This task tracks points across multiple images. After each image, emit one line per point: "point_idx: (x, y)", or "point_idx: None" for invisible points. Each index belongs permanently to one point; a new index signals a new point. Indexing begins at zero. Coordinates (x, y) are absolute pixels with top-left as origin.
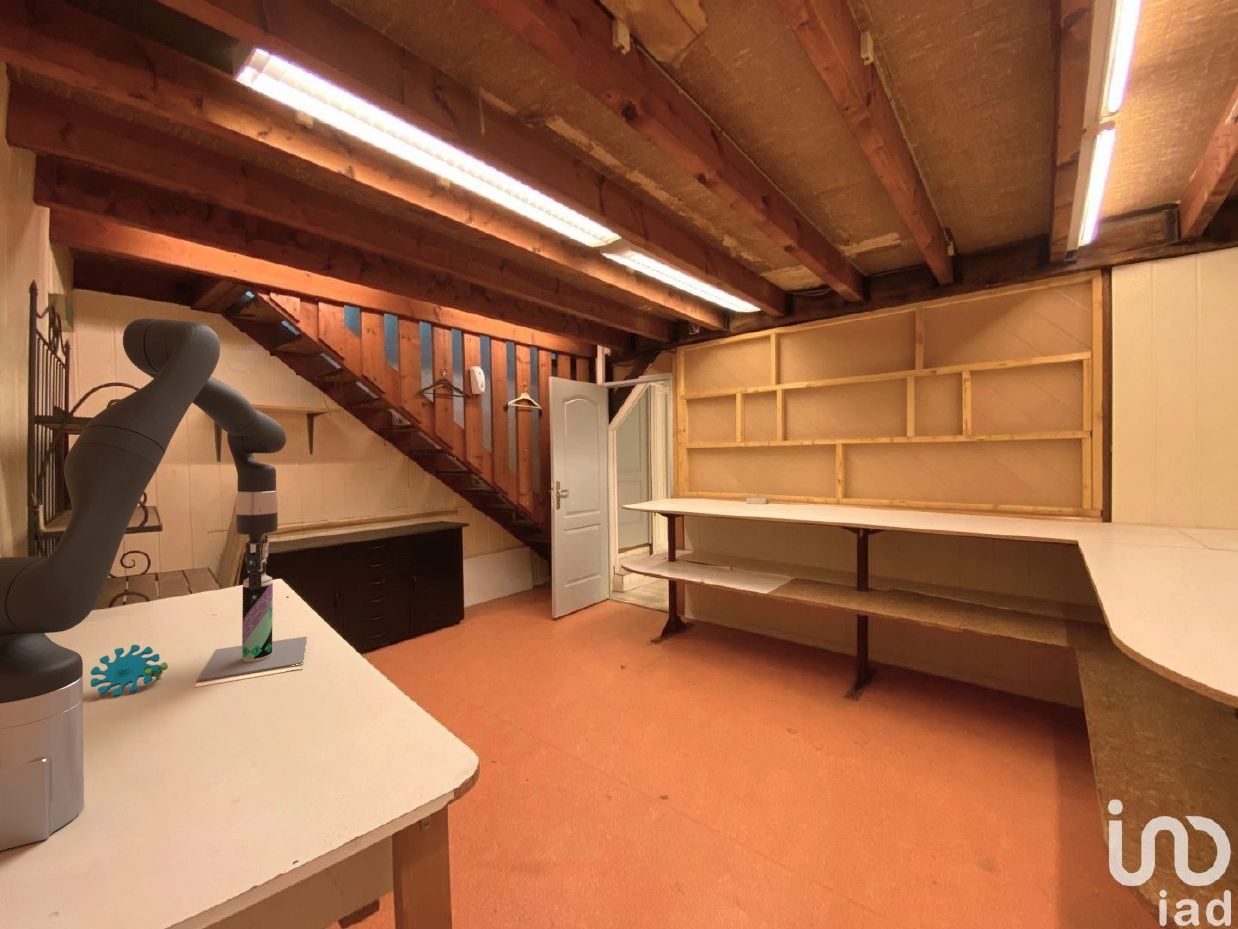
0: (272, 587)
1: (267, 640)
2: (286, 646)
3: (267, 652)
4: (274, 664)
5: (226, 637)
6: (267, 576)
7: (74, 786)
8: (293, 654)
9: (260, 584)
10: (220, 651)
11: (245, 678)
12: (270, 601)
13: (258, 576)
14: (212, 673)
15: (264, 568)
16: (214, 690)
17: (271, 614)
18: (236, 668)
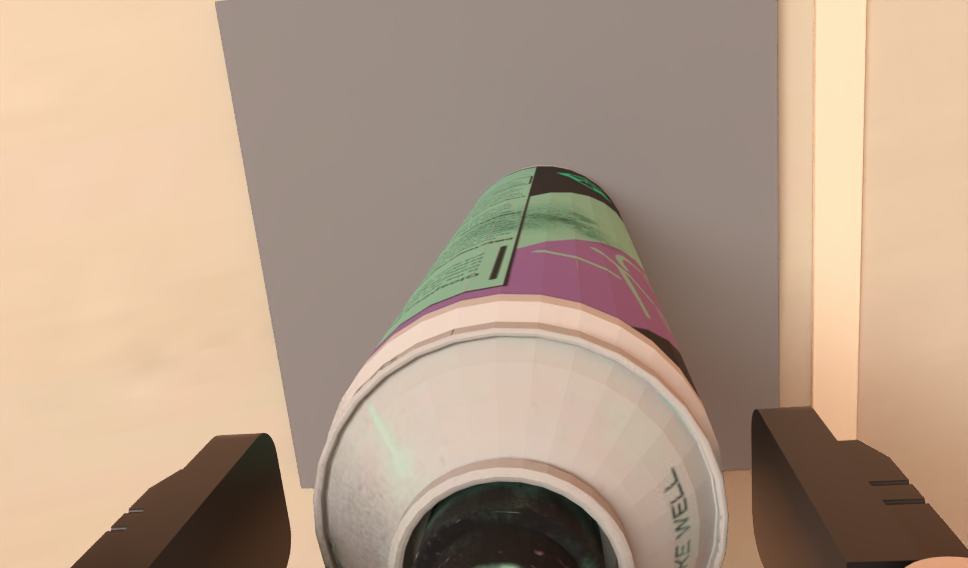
0: (521, 276)
1: (600, 198)
2: (391, 104)
3: (594, 185)
4: (726, 116)
5: (65, 481)
6: (527, 410)
7: None
8: (579, 28)
9: (822, 434)
10: None
11: (859, 241)
12: (582, 247)
13: (946, 544)
14: (717, 421)
15: (176, 550)
16: (950, 359)
17: (558, 212)
18: (691, 319)
